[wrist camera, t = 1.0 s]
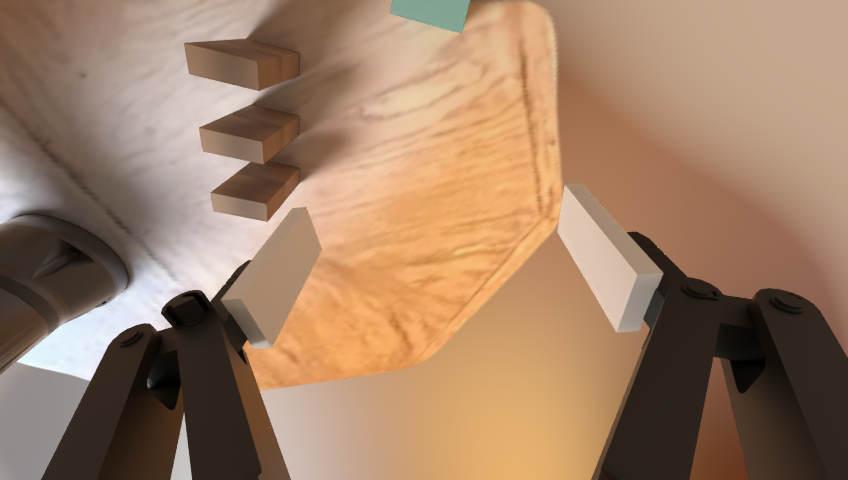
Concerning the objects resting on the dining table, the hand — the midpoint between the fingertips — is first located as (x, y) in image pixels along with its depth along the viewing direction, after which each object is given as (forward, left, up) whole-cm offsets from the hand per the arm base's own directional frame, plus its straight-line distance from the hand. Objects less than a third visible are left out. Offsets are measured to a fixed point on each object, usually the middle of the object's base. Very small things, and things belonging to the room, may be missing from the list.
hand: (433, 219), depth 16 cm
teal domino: (-2, +9, -21) cm, 23 cm away
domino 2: (-16, -4, -21) cm, 27 cm away
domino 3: (-16, -10, -21) cm, 28 cm away
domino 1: (-16, +2, -21) cm, 27 cm away
